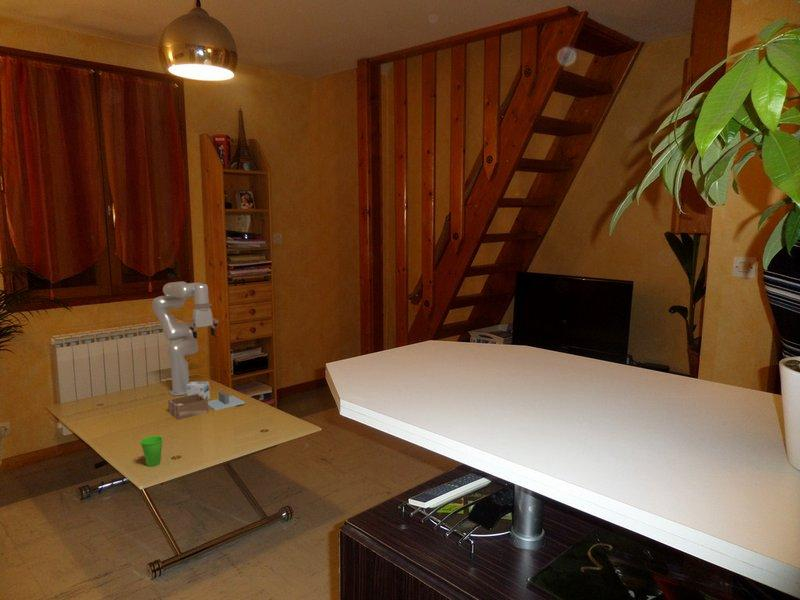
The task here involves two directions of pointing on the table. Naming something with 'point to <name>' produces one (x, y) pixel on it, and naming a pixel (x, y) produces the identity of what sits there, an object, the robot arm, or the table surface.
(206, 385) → the light bulb box
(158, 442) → the cup
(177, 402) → the crate
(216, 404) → the lid
